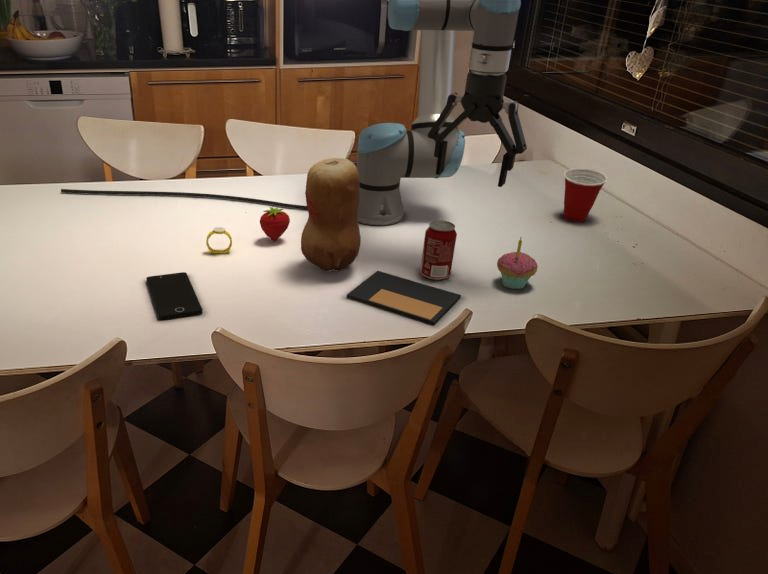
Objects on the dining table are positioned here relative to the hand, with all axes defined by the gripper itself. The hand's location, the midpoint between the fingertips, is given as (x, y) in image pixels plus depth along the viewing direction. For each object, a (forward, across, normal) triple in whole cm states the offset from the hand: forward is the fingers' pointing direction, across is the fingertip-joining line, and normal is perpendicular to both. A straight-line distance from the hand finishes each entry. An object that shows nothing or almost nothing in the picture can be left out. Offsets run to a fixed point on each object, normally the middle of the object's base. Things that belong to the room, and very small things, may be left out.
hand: (469, 178), depth 144 cm
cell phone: (+22, -45, -45) cm, 68 cm away
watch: (+22, -50, -22) cm, 59 cm away
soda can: (+22, -3, -5) cm, 22 cm away
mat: (+22, -4, -19) cm, 29 cm away
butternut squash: (+22, -24, -15) cm, 36 cm away
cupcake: (+22, +13, +1) cm, 25 cm away
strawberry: (+22, -43, -9) cm, 49 cm away
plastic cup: (+22, +16, +49) cm, 56 cm away
